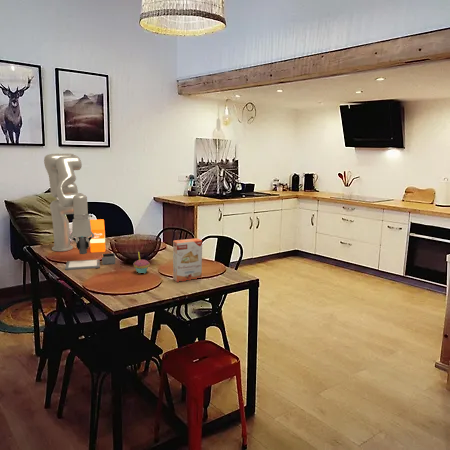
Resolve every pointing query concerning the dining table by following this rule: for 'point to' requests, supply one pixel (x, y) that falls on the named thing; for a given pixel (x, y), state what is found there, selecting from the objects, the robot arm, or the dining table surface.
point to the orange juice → (97, 236)
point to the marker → (82, 245)
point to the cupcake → (141, 265)
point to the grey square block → (108, 258)
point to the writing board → (82, 264)
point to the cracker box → (187, 259)
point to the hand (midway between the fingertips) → (82, 248)
